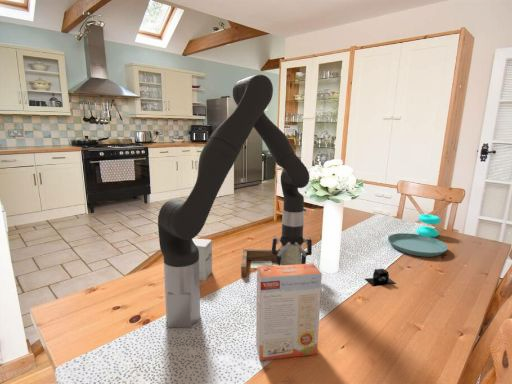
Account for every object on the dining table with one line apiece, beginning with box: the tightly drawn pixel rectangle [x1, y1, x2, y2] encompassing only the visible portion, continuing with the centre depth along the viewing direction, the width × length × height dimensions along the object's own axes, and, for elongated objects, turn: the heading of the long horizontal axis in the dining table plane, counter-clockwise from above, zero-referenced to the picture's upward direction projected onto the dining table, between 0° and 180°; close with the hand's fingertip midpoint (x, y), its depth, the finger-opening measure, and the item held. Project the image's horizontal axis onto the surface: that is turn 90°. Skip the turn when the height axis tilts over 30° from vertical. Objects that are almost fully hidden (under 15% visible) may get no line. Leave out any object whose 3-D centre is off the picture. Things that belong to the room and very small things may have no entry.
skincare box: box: [280, 244, 302, 265], centre depth 110 cm, size 6×4×12 cm
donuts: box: [416, 213, 442, 238], centre depth 156 cm, size 10×10×10 cm
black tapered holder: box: [364, 268, 398, 287], centre depth 107 cm, size 12×7×5 cm, turn 102°
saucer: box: [387, 232, 448, 258], centre depth 138 cm, size 24×24×3 cm
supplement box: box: [192, 237, 213, 282], centre depth 107 cm, size 7×7×13 cm
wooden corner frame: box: [240, 248, 276, 278], centre depth 115 cm, size 16×19×4 cm
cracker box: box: [255, 263, 322, 361], centre depth 71 cm, size 14×6×21 cm, turn 99°
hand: (290, 264), depth 110 cm, fingers open, 8 cm apart
